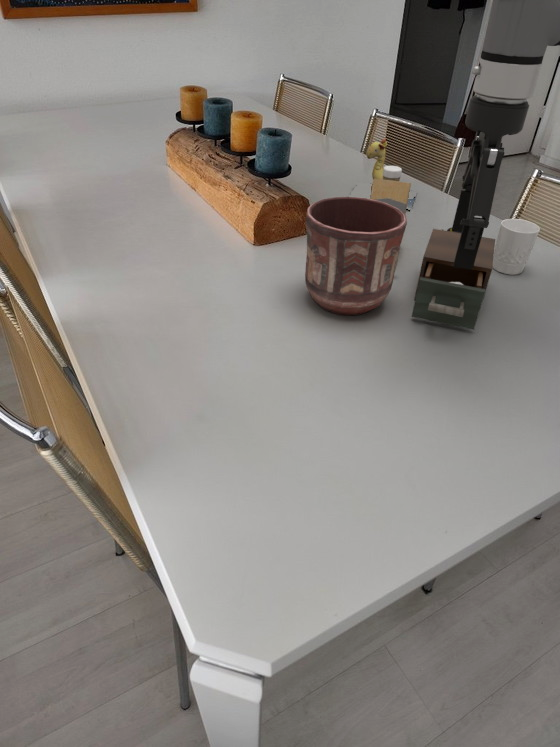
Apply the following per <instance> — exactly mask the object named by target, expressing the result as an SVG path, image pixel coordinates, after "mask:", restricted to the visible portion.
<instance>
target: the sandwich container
mask: <svg viewBox="0 0 560 747" xmlns="http://www.w3.org/2000/svg"><path fill="white" fill-rule="evenodd" d="M371 184H372V190H371V195H370V199H373V200H377V201H381V202H384V203H387V204H389V205H391V206H393V207H396V208H398V209H399V210H400V211H401V212H402V213H403V214H404V215H406V214H407V210H406V209H407V203H408V198H409V192H410V190H411V186H412V184H411V182H406V181H400V180H399V181H392V180H383V179H373V178H372V183H371ZM399 253H400V251H399V252H398V254H399ZM398 258H399V255H398V256H397V260H396V266H395V269H396V267H397V264H398Z"/></svg>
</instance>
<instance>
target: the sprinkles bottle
mask: <svg viewBox="0 0 560 747" xmlns="http://www.w3.org/2000/svg"><path fill="white" fill-rule="evenodd" d="M402 172H403V169H402V167H400V166H397V165H384V166H383V180H392V181H399V182H400V181H401V177H402V174H403V173H402Z"/></svg>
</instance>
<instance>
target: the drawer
mask: <svg viewBox="0 0 560 747" xmlns="http://www.w3.org/2000/svg"><path fill="white" fill-rule="evenodd" d="M482 279H483V271H478V270H472V269H465V268H457V267H453V266H451V265H445V264H440V263H434V262H429V265H428V268H427V271H426V275H425V278H423V277H420V280H419V279H418V280H419V285H418V289H417V288H416V289H417V294H416V293H415V294H416V298H415V297H414V298H415V301H414V303H413V308H412V312H411V318H416V319H421V320H426V321H430V322H435V323H440V324H445V325H449V326H454V327H460V328H464V329H468V330H475V328H476V324H477V321H478V318H479V313H480V311H481V308H480V307H482V304H483V300H484V298H485V294H486V291H485V289H481V286H482ZM449 282H460V283H462V284H463V285H460V284H455V283H449Z"/></svg>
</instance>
